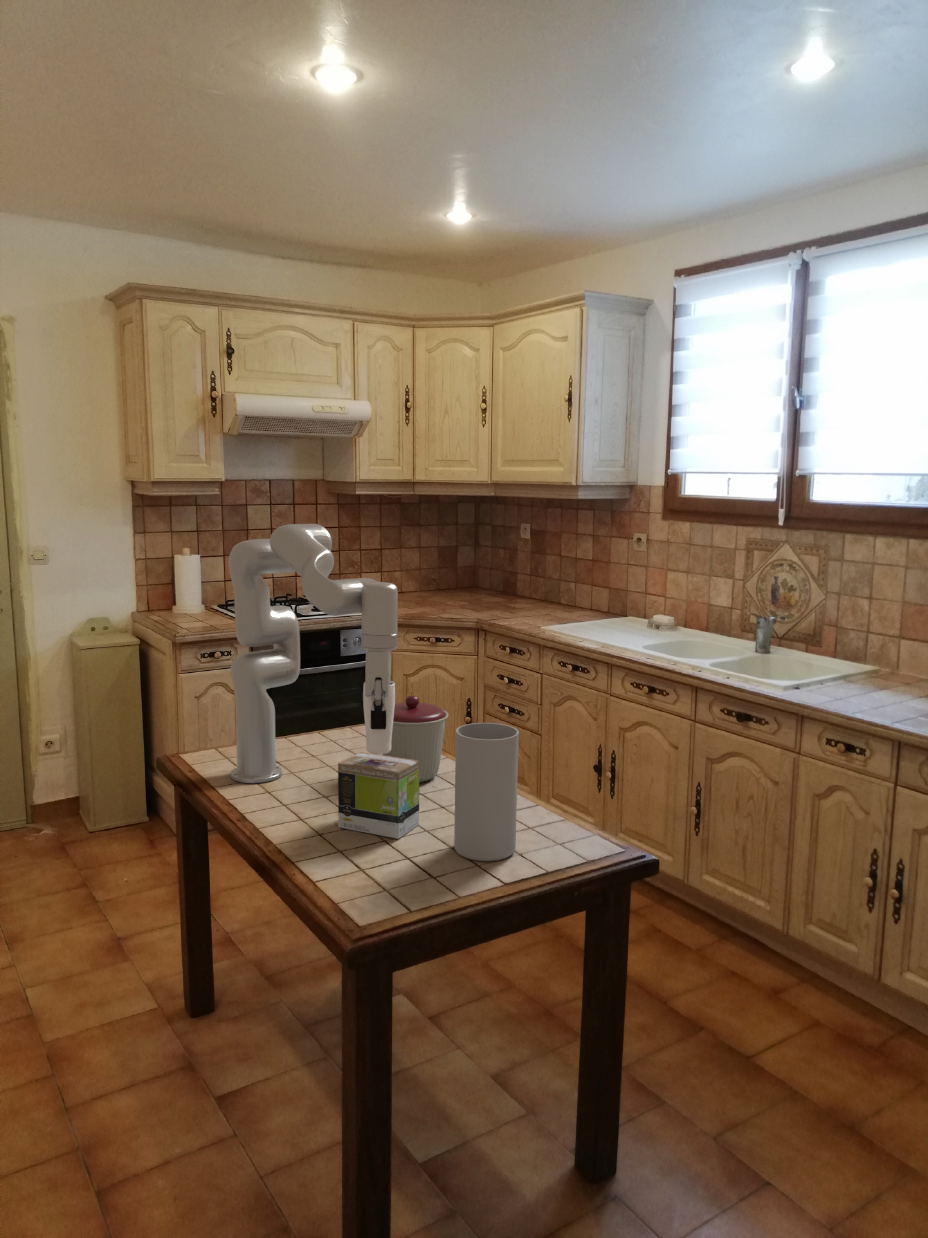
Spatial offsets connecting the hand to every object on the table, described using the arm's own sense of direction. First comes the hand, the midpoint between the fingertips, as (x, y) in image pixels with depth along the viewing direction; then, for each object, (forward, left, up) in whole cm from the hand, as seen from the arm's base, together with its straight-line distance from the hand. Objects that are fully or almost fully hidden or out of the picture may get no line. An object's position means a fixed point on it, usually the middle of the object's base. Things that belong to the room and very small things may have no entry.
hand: (379, 723), depth 192 cm
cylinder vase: (+13, +22, -23) cm, 35 cm away
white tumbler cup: (0, 0, -6) cm, 6 cm away
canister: (-33, +7, -23) cm, 41 cm away
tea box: (0, 0, -23) cm, 23 cm away
